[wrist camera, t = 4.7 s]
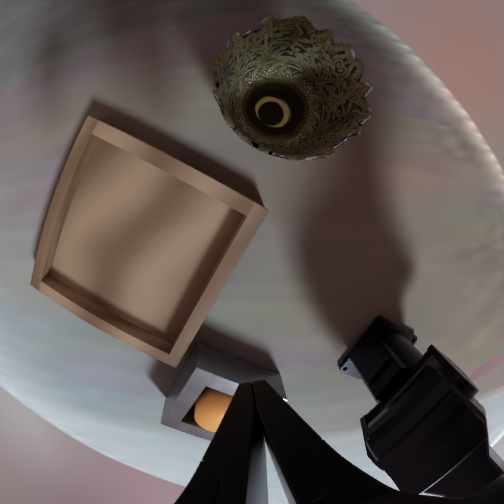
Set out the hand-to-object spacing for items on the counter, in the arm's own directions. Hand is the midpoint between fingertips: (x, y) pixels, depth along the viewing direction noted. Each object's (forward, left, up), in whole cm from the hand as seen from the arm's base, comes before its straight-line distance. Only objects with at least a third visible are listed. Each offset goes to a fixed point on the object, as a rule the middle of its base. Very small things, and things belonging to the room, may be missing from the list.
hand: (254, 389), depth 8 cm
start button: (-5, +11, -12) cm, 17 cm away
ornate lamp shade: (+3, -11, -13) cm, 17 cm away
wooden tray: (+7, +2, -13) cm, 15 cm away
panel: (-5, +11, -13) cm, 18 cm away
